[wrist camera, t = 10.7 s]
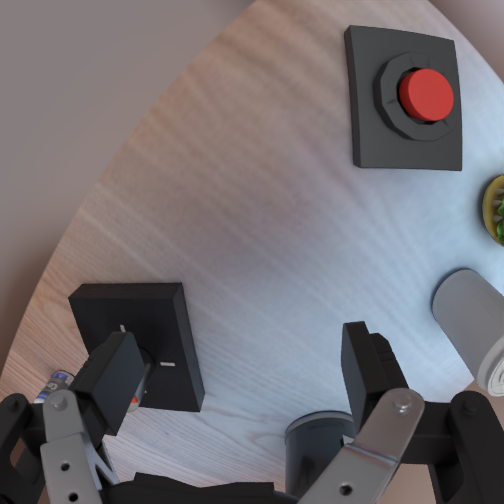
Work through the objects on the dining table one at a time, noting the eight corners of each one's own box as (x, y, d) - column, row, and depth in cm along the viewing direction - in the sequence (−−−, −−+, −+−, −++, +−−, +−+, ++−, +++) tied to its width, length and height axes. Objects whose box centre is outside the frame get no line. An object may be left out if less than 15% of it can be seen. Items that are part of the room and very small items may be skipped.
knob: (121, 375, 30) (101, 410, 25) (108, 341, 28) (84, 376, 23) (159, 379, 29) (143, 417, 24) (149, 344, 28) (129, 382, 23)
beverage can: (481, 306, 28) (540, 375, 17) (433, 331, 29) (482, 413, 18) (477, 256, 26) (551, 318, 15) (424, 282, 27) (486, 361, 16)
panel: (204, 393, 34) (199, 413, 31) (118, 386, 35) (109, 403, 32) (181, 282, 29) (172, 299, 26) (82, 283, 30) (66, 298, 27)
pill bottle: (64, 365, 35) (32, 408, 27) (89, 390, 36) (62, 435, 28) (49, 375, 36) (20, 415, 28) (73, 399, 37) (47, 440, 29)
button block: (449, 167, 23) (473, 174, 20) (353, 165, 24) (367, 171, 20) (442, 45, 19) (465, 35, 16) (343, 32, 20) (355, 17, 16)
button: (443, 122, 19) (455, 123, 17) (400, 118, 19) (410, 118, 17) (440, 75, 18) (451, 72, 16) (396, 69, 18) (405, 65, 16)
